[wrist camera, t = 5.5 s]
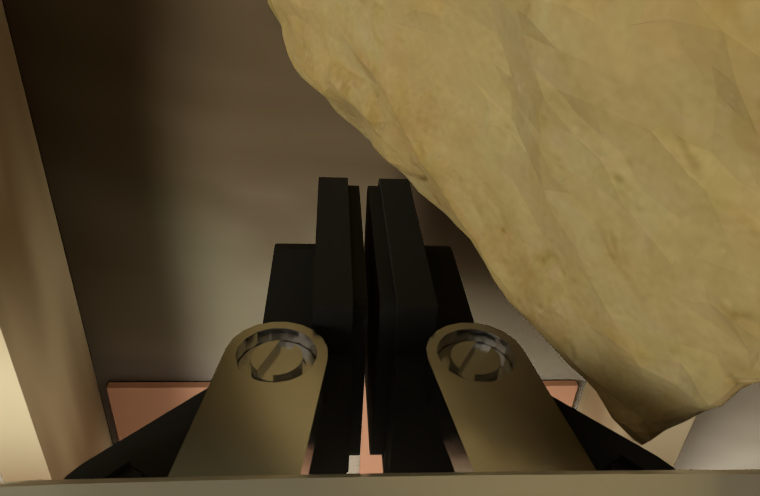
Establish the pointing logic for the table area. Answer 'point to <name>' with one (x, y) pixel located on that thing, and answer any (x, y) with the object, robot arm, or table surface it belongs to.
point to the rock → (577, 169)
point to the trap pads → (154, 399)
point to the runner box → (79, 319)
